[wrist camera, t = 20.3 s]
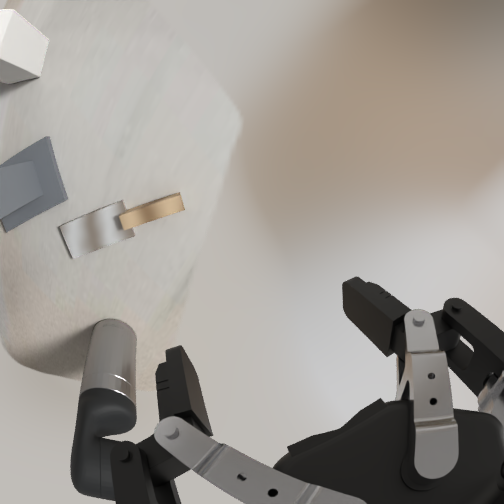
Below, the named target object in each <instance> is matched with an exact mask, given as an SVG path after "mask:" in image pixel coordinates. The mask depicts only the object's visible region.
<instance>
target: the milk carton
mask: <svg viewBox="0 0 504 504" xmlns="http://www.w3.org/2000/svg"><path fill="white" fill-rule="evenodd" d="M48 44H49V39H48V38H47V37H45V36H44V35H43V34H42V33H41V32H40V31H39V30H37V29H36V28H35V27H34V26H33V25H32V24H30V23H29V22H28V21H27V20H26V19H24V18H23V17H22V16H21V15H20V14H19V13H17V12H16V11H15V10H13V9H0V82H3V83H6V84H12V83H16V82H20V81H24V80H28V79H33V78H37V77H40V76H41V72H42V67H43V63H44V59H45V55H46V51H47V48H48Z"/></svg>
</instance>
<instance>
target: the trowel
mask: <svg viewBox="0 0 504 504" xmlns="http://www.w3.org/2000/svg"><path fill="white" fill-rule="evenodd" d="M183 210H185V208H184V205H183V202H182V198H181V195H180V192H179V193H176V194H173V195H170V196H167V197H164V198H161V199H158V200H155V201H152V202H149V203H146V204H143V205H140V206H137V207H135V208H132V209H129V210H127V209H126V206H125V203H124V200H121V201H119V202H116V203H113V204H111V205H108V206H106V207H103V208H101V209H98V210H96V211H93V212H91V213H88V214H86V215H84V216H81V217H79V218H76V219H74V220H72V221H70V222H67V223H65V224H63V225H61V226H60V229H61V232H62V234H63V237H64V239H65V242H66V244H67V246H68V249H69V251H70V253H71V255H72V258H73V259H75V258H77V257H80V256H83V255H85V254H88V253H90V252H93V251H96V250H98V249H101V248H103V247H106V246H109V245H112V244H114V243H117V242H120V241H123V240H125V239H128V238H131V237H134V236H135V232H134V229H133V227H136V226H138V225H141V224H144V223H147V222H150V221H153V220H156V219H159V218H162V217H165V216H168V215H171V214H174V213H177V212H180V211H183Z"/></svg>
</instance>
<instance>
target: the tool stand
mask: <svg viewBox="0 0 504 504" xmlns="http://www.w3.org/2000/svg"><path fill="white" fill-rule="evenodd" d="M67 199H68V197H67V194H66V191H65V188H64V185H63V182H62V179H61V176H60V173H59V169H58V166H57V163H56V159H55V155H54V152H53V148H52V144H51V140H50V137H44V138H43V139H41V140H39V141H37V142H36V143H34V144H32V145H31V146H29V147H27V148H26V149H24V150H22V151H21V152H19V153H18V154H16V155H15V156H13V157H12V158H10V159H9V160H7V161H6V162H4V163H3V164H1V165H0V220H1V219H2V222H3V225H4V227H5V230H6V232H8V231H10V230H11V229H13V228H15V227H17V226H18V225H20V224H22V223H24V222H25V221H27V220H29V219H31V218H33V217H34V216H36V215H38V214H40V213H42V212H44V211H46V210H48V209H50V208H52V207H54V206H56V205H58V204H60V203H62V202H64V201H66V200H67Z"/></svg>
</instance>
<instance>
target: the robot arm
mask: <svg viewBox="0 0 504 504" xmlns="http://www.w3.org/2000/svg"><path fill="white" fill-rule="evenodd" d="M342 290H343V309H344V312H345V314H346V316H347V317H348V318H349V319H350V320H351V321H352V322H353V323H354V324H355V325H356V326H357V327H358V328H359V329H360V330H361V331H362V332H363V333H364V334H365V335H366V336H367V337H368V338H369V339H370V340H371V341H372V342H373V343H374V344H375V345H376V346H377V347H378V349H379V350H381V351H382V353H383V354H384V355H385V356H386V357H388V356H390V355H391V354H393V353H395V354H397V359H396V361H397V392H396V398H395V401H390V402H386V403H384V402H383V401H382V399H381V398H380V399H378V400H377V401H375V402H373V403H372V404H370V405H369V406H367V407H365V408H364V409H362V410H360V411H359V412H358V413H357V414H356V415H355V416H354V417H353V418H352V419H351V420H349V421H348V422H347V423H346V424H345V425H344V426H343V427H341V428H340V429H337V430H334V431H330V432H326V433H322V434H318V435H313V436H310V437H308V438H306V439H304V440H301V441H299V442H297V443H295V444H292V445H290V446H288V447H287V448H288V451H289V453H287V454H286V455H284V456H283V457H282V458H281V459H280V460H279V461H278V462H277V463H276V464H275V465H274V467H273V468H271V467H269V466H266V465H264V464H262V463H260V462H258V461H256V460H254V459H252V458H251V457H248V456H247V455H245V454H243V453H241V452H239V451H237V450H236V449H234V448H232V447H230V446H228V445H226V444H220V443H218V442H216V441H215V440H213V439H212V438H210V436H213V433H212V430H211V426H210V423H209V419H208V415H207V411H206V408H205V404H204V400H203V396H202V392H201V388H200V384H199V379H198V376H197V373H196V371H195V369H194V366H193V365H192V363H191V361H190V359H189V358H188V356H187V354H186V352H185V350H184V349H183V347H182V346H177V347H174V348H170V349H167V350H166V362H164V363H161V364H159V365H158V368H157V371H156V373H155V375H156V384H157V385H156V388H157V399H158V409H159V419H160V421H159V423H158V424H157V426H156V427H155V431H154V434H153V435H151V436H150V437H148V438H147V439H145V440H143V441H141V442H139V443H138V444H134V443H133V442H130V441H122V442H120V441H115V440H110V439H105V438H102V437H105V436H110V435H117V434H122V433H126V432H128V431H130V430H131V429H132V428H133V427H134V426H135V424H136V419H137V416H136V341H137V339H136V335H135V332H134V331H133V330H132V328H131V327H130V326H129V325H127V324H126V323H124V322H122V321H119V320H115V319H106V320H103V321H100V322H99V323H97V324H96V325H95V327H94V329H93V333H92V337H91V341H90V344H89V349H88V353H87V358H86V362H85V367H84V372H83V378H82V383H81V390H80V396H79V403H78V413H77V420H76V427H75V434H74V440H73V447H72V453H71V466H70V467H71V479H72V482H73V485H74V487H75V488H76V489H77V491H78V492H79V493H81V494H84V495H87V496H91V497H96V498H101V499H106V500H112V501H116V504H181V502H180V498H179V495H178V492H177V488H176V485H175V481H174V478H176V477H178V476H180V475H181V474H183V473H185V472H187V471H188V470H190V469H192V470H193V471H194V472H196V473H197V474H199V475H200V476H201V477H203V478H204V479H206V480H207V481H209V482H210V483H212V484H213V485H215V486H216V487H218V488H220V489H221V490H223V491H224V492H226V493H228V494H229V495H231V496H233V497H234V498H236V499H238V500H240V501H241V502H243V503H245V504H504V332H503V331H502V330H500V329H499V328H498V327H497V326H496V325H494V324H493V323H492V322H491V321H489V320H488V319H487V318H486V317H484V316H483V315H482V314H481V313H479V312H478V311H477V310H475V309H474V308H473V307H472V306H470V305H469V304H467V303H466V302H465V301H463V300H462V299H459V298H450V299H448V300H447V301H446V302H445V303H444V307H443V310H440V311H437V312H434V313H429V312H427V311H425V310H421V309H415V310H411V309H409V308H408V307H407V306H405V305H404V304H403V303H402V302H400V301H399V300H397V299H396V298H395V297H394V296H391V294H390V293H388V292H387V291H385V290H384V289H383V288H382V287H380V286H379V285H377V284H374V283H371V282H367V283H366V282H364V281H363V280H362V279H360V278H359V277H354V278H352V279H350V280H347V281H345V282H343V284H342ZM460 336H462V337H463V338H464V339H466V340H467V341H468V342H469V343H470V344H471V345H472V346H473V348H474V352H473V351H472V350H471V349H470V348H469V347H468V346H467V345H465V344H464V343H463V342H462V341H461V340H460ZM448 367H450V369H451V370H452V371H453V372H454V373H455V374H456V375H457V376H458V377H459V378H460V379H461V380H462V381H463V382H464V383H465V384H466V385H467V387H468V388H469V389H470V390H471V391H472V392H473V393H474V394H475V395H476V396H477V397H478V404H479V407H478V411H479V412H477V411H469V410H461V409H454V408H453V403H452V394H451V385H450V378H449V372H448Z"/></svg>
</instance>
